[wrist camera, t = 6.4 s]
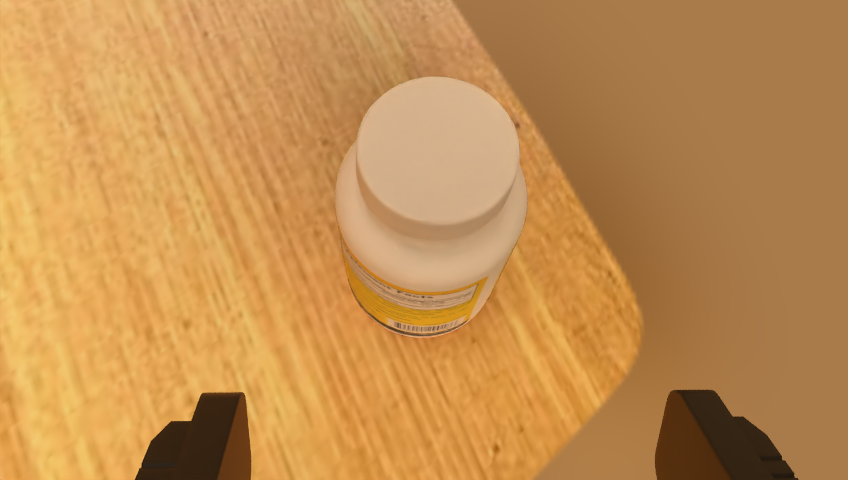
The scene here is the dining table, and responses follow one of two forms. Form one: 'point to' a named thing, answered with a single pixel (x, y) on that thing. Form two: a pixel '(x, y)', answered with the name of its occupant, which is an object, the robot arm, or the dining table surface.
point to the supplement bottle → (430, 205)
